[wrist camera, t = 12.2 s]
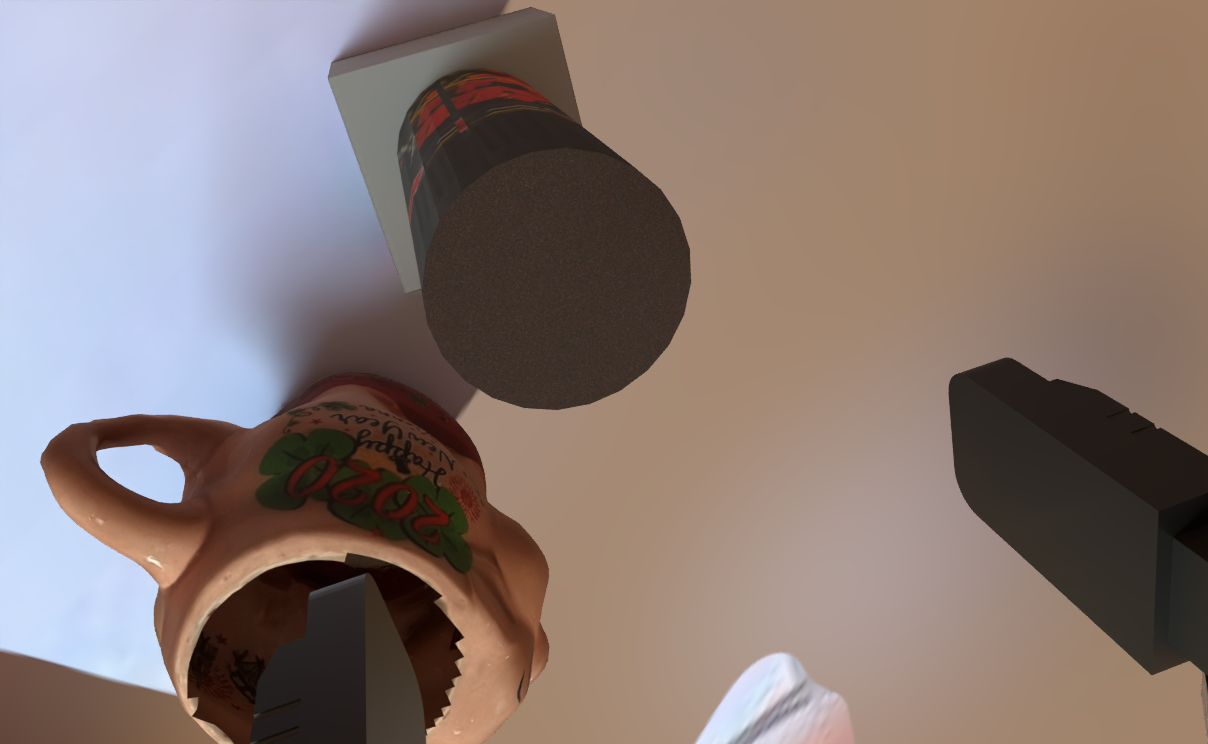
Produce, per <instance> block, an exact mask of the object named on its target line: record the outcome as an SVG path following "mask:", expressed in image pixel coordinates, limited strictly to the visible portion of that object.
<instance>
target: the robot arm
mask: <svg viewBox="0 0 1208 744" xmlns="http://www.w3.org/2000/svg"><path fill="white" fill-rule="evenodd" d="M949 404H950V417H951V430H952V443H953V455H954V468H955V474H956V479H957V482H958V485H959V488H960V490H961V493H962V495H963V497H964V499H965V500H966V502H967V503H968V505H969V507H970V508H971V509H972V510H973V512H974V513H975V514H976V515H977V516H978V517H979V518H981V519H982V520H983V521H984V522H985V523H986V524H987V525H988V526H989V527H990V528H991V529H992V530H994V531H995V532H996V533H997V534H998V535H999V536H1000V537H1001V538H1002V539H1003V540H1004V541H1006V542H1007V543H1008V544H1009V545H1010V546H1011V547H1012V548H1013V549H1014V550H1015V551H1017V552H1018V553H1019V554H1020V555H1021V556H1022V557H1023V558H1024V559H1025V560H1026V561H1027V562H1029V563H1030V564H1031V565H1032V566H1033V567H1034V568H1035V569H1036V570H1037V571H1038V572H1040V573H1041V574H1042V575H1043V576H1044V577H1045V578H1046V579H1047V580H1048V581H1049V582H1051V583H1052V584H1053V585H1054V586H1055V587H1056V588H1057V589H1058V590H1059V591H1060V592H1061V593H1062V594H1063V595H1065V596H1066V597H1067V598H1068V599H1069V600H1070V601H1071V602H1072V603H1073V604H1074V605H1076V606H1077V607H1078V608H1079V609H1080V610H1081V611H1082V612H1083V613H1084V614H1085V615H1086V616H1088V617H1089V618H1090V619H1091V620H1092V621H1093V622H1094V623H1095V624H1096V625H1097V626H1098V627H1100V628H1101V629H1102V630H1103V631H1104V632H1105V633H1106V634H1107V635H1108V636H1110V637H1111V638H1112V639H1113V640H1114V641H1115V642H1116V643H1117V644H1118V645H1119V646H1120V647H1121V648H1123V649H1124V650H1125V651H1126V652H1127V653H1128V654H1129V655H1130V656H1131V657H1132V658H1133V659H1135V660H1136V661H1137V662H1138V663H1139V664H1140V665H1141V666H1142V667H1143V668H1144V669H1145V670H1147V671H1148V672H1149V673H1150V674H1151V675H1154V674H1156V673H1159V672H1161V671H1164V670H1167V669H1169V668H1172V667H1174V666H1177V665H1180V664H1182V663H1185V662H1187V661H1191V662H1192V663H1193V664H1194V665H1196V666H1197V667H1198V668H1199V669H1200V670H1201V671H1202V681H1201V697H1202V705H1203V713H1204V720H1205V728H1206V735H1207V743H1208V456H1207V455H1206V454H1204V453H1202V452H1201V451H1199V450H1197V449H1195V448H1194V447H1192V446H1191V445H1189V444H1187V443H1186V442H1184V441H1182V440H1180V439H1179V438H1177V437H1175V436H1174V435H1172V434H1170V433H1169V432H1167V431H1165V430H1164V429H1162V428H1159V429H1156V427H1155V425H1154V423H1152V422H1150V421H1149V420H1147V419H1145V418H1144V417H1142V416H1140V415H1138V414H1137V413H1132V414H1131V413H1130V411H1129V408H1127V407H1125V406H1124V405H1122V404H1120V403H1119V402H1116V401H1115V400H1113V399H1112V398H1110V397H1108V396H1107V395H1105V394H1103V393H1101V392H1100V391H1098V390H1095V389H1091V388H1088V387H1084V386H1081V385H1077V384H1074V383H1070V382H1066V381H1063V380H1059V379H1055V380H1052V381H1048V380H1046V379H1045V378H1043V377H1041V376H1040V375H1038V374H1037V373H1035V372H1033V371H1032V370H1030V369H1029V368H1027V367H1025V366H1024V365H1022V364H1021V363H1019V362H1017V361H1016V360H1014V359H1012V358H1003V359H1000V360H997V361H994V362H991V363H988V364H985V365H982V366H979V367H976V368H973V369H970V370H967V371H964V372H962V373H958V374H956V375H954V376H953V377H952V378H951V380H950V383H949ZM253 715H254V718H255V721H253V722H252V729H251V736H250V744H426V733H425V722H424V711H423V703H422V698H421V693H420V689H419V685H418V682H417V678H416V675H415V672H414V669H413V666H412V663H411V661H410V659H409V656H408V654H407V652H406V650H405V647H404V645H403V643H402V641H401V638H400V636H399V634H398V631H397V629H396V627H395V625H394V622H393V620H392V618H391V616H390V613H389V611H388V609H387V607H386V604H385V602H384V600H383V598H382V595H381V593H380V591H379V589H378V586H377V584H376V582H375V581H374V579H373V577H372V576H371V575H370V574H369V573H366V574H363V575H360V576H357V577H354V578H351V579H348V580H345V581H342V582H339V583H337V584H334V585H331V586H328V587H325V588H322V589H319V590H316V591H313V592H311V593H310V595H309V599H308V611H307V624H306V637H303V638H300V639H297V640H294V641H291V642H288V643H286V644H283V645H280V646H278V648H277V650H276V651H275V653H274V655H273V657H272V658H271V660H270V662H269V663H268V665H267V667H266V668H265V670H264V672H263V673H262V675H261V677H260V679H259V680H258V685H257V692H256V700H255V707H254V714H253Z"/></svg>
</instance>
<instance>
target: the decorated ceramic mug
mask: <svg viewBox="0 0 1208 744" xmlns="http://www.w3.org/2000/svg"><path fill="white" fill-rule="evenodd" d="M144 444H147V445H152V446H153V447H154V449H155V450H156V451H158V452H160V453H162V454H164V455H166V456H168V457H170V458H172V459H174V460H175V461H176V462H178V463H179V464H180V466H181V468H182V470H183V472H184V475H185V486H184V491H183V497H182V501H181V502H180V503H162V502H157V501H155V500H152V499H149V498H147V497H144V496H142V495H139V494H137V493H135V492H133V491H131V490H129V489H127V488H125V487H124V486H122V485H120V484H119V483H117V482H116V481H114V480H113V479H112V478H110V477H109V476H108V475H107V474H106V473H105V472H104V471H103V470H102V469H101V468H100V467H99V464H98V461H97V456H96V451H98V450H102V449H107V448H113V447H126V446H134V445H144ZM40 463H41V466H42V468H43V470H44V473H45V476H46V479H47V482H48V484H49V486H50V489H51V491H52V493H53V495H54V497H55V499H56V501H57V502H58V504H59V506H60V507H61V508H62V509H63V511H64V512H65V513H66V514H67V515H68V516H69V517H70V518H71V519H72V520H73V521H74V522H75V523H76V524H77V525H79V526H80V527H81V528H83V529H84V530H85V531H87V532H88V533H89V534H91V535H92V536H94V537H95V538H96V539H98V540H99V541H101V542H102V543H103V544H105V545H107V546H109V547H110V548H112V549H114V550H116V551H117V552H119V553H121V554H123V555H124V556H126V557H128V558H130V559H131V560H133V561H135V562H136V563H138V564H139V565H140V566H142V567H143V568H144V569H145V570H146V571H147V572H148V573H149V574H150V575H151V576H152V577H153V579H154V580H155V581H156V582H157V583H158V584H159V589H158V594H157V597H156V600H155V605H154V627H155V632H156V635H157V639H158V642H159V645H160V647H161V652H162V656H163V660H164V664H165V666H166V669H167V671H168V674H169V676H170V679H171V681H172V683H173V686H174V688H175V690H176V693H177V695H178V697H179V700H180V702H181V704H182V706H183V708H184V710H185V711H186V712H187V713H188V714H189V715H190V716H191V717H192V718H193V719H194V720H195V721H196V722H197V723H198V724H199V725H200V726H201V727H202V728H203V729H204V730H205V731H206V732H207V733H208V734H209V735H210V736H211V737H212V738H213V739H214V740H216V741H217V742H218V743H219V744H250V736H251V729H252V722H253V721H255V718H254V715H253V714H254V707H255V700H256V692H257V685H258V680H259V679H260V677H261V675H262V673H263V672H264V670H265V668H266V667H267V665H268V663H269V662H270V660H271V658H272V657H273V655H274V653H275V651H276V650H277V648H278V646H280V645H283V644H286V643H288V642H291V641H294V640H297V639H300V638H303V637H306V624H307V611H308V599H309V595H310V593H311V592H313V591H316V590H319V589H322V588H325V587H328V586H331V585H334V584H337V583H339V582H342V581H345V580H348V579H351V578H354V577H357V576H360V575H363V574H366V573H369V574H370V575H371V576H372V577H373V579H374V581H375V582H376V584H377V586H378V589H379V591H380V593H381V595H382V598H383V600H384V602H385V604H386V607H387V609H388V611H389V613H390V616H391V618H392V620H393V622H394V625H395V627H396V629H397V631H398V634H399V636H400V638H401V641H402V643H403V645H404V647H405V650H406V652H407V654H408V656H409V659H410V661H411V663H412V666H413V669H414V672H415V675H416V678H417V682H418V685H419V689H420V693H421V698H422V703H423V711H424V722H425V733H426V744H482V743H483V742H485V741H486V740H487V739H489V738H490V737H491V736H492V735H493V734H494V733H495V732H496V731H497V730H498V729H499V728H500V727H501V726H502V724H503V723H504V722H505V721H506V720H507V719H508V717H509V716H510V715H511V714H512V713H513V712H514V711H516V709H517V708H518V707H519V706H520V704H521V703H522V701H523V700H524V698H525V696H526V694H527V690H528V687H529V685H530V684H531V683H532V682H533V681H534V680H535V679H536V678H537V677H538V676H539V675H540V673H541V672H542V671H543V669H544V668H545V666H546V663H547V661H548V653H549V643H548V639H547V636H546V634H545V632H544V630H543V628H542V626H541V623H540V617H541V611H542V606H543V601H544V597H545V592H546V588H547V584H548V578H549V568H548V565H547V562H546V559H545V556H544V555H543V553H542V551H541V550H540V548H539V547H538V545H537V544H536V542H535V541H534V540H533V539H532V537H531V536H530V535H529V534H528V533H527V532H526V530H525V529H524V528H523V527H522V526H521V525H520V524H519V523H517V522H516V521H514V520H513V519H511V518H509V517H508V516H506V515H504V514H503V513H501V512H500V511H498V510H497V509H496V508H494V507H493V506H492V505H491V504H490V503H489V502H488V501H487V497H486V481H485V473H484V469H483V465H482V462H481V458H480V456H479V453H478V451H477V449H476V447H475V445H474V444H473V442H472V440H471V439H470V437H469V436H468V434H467V433H466V432H465V431H464V429H463V428H462V427H461V426H460V425H459V424H458V422H457V421H456V420H455V419H453V418H452V417H451V416H450V415H449V414H448V413H447V412H446V411H444V410H443V409H442V408H441V407H440V406H438V405H437V404H436V403H434V402H433V401H432V400H430V399H429V398H427V397H425V396H424V395H422V394H421V393H419V392H417V391H415V390H413V389H411V388H409V387H407V386H405V385H402V384H400V383H398V382H395V381H392V380H390V379H387V378H384V377H380V376H376V375H371V374H364V373H344V374H338V375H334V376H331V377H328V378H326V379H323V380H321V381H319V382H318V383H316V384H314V385H313V386H311V387H310V388H308V389H307V390H306V391H305V392H304V393H303V394H302V395H301V396H299V397H298V398H297V399H296V400H295V401H294V402H293V403H291V404H290V405H288V406H287V407H285V408H284V409H282V410H281V411H280V412H278V413H277V414H276V415H275V416H273V417H272V418H271V419H270V420H268V421H266V422H263V423H262V424H260V425H258V426H256V427H255V428H253V429H247V428H242V427H240V426H237V425H234V424H231V423H228V422H224V421H218V420H209V419H200V418H193V417H185V416H177V415H144V414H137V415H129V416H124V417H118V418H110V419H100V420H93V421H91V422H89V423H77V424H72V425H70V426H69V427H68V428H66V429H65V430H64V431H62V432H61V433H59V434H58V435H57V436H55V437H54V438H53V439H52V440H51V441H50V442H49V444H48V446H47V448H46V449H45V451H44V452H43V453H42V456H41V461H40Z"/></svg>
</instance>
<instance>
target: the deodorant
mask: <svg viewBox="0 0 1208 744" xmlns="http://www.w3.org/2000/svg"><path fill="white" fill-rule="evenodd" d="M397 157H398V163H399V168H400V174H401V180H402V185H403V191H404V196H405V202H406V207H407V213H408V218H409V223H410V229H411V234H412V240H413V245H414V251H415V256H416V262H417V267H418V273H419V278H420V284H421V289H422V295H423V300H424V306H425V311H426V317H427V322H428V326H429V328H430V330H431V332H432V334H433V336H434V338H435V340H436V342H437V345H438V347H439V349H440V351H441V353H442V355H443V356H444V357H445V358H446V360H447V361H448V362H449V363H450V364H451V365H452V366H453V367H454V368H455V370H456V371H457V372H458V373H459V374H460V375H461V376H462V377H463V379H464V380H466V381H467V382H469V383H470V384H472V385H473V386H475V387H476V388H478V389H480V390H481V391H483V392H484V393H486V394H487V395H489V396H491V397H492V398H495V399H498V400H501V401H504V402H507V403H510V404H514V405H517V406H520V407H523V408H535V409H552V410H559V409H565V408H570V407H575V406H581V405H586V404H591V403H593V402H595V401H598V400H600V399H602V398H604V397H607V396H609V395H611V394H614V393H616V392H618V391H620V390H622V389H623V388H624V387H626V386H627V385H628V384H630V383H631V382H632V381H634V380H635V379H637V378H638V377H639V376H640V375H642V374H643V373H645V372H646V371H647V370H648V369H649V368H650V367H651V366H652V364H653V363H654V362H655V361H656V360H657V359H658V357H659V356H660V355H661V354H662V353H663V351H664V350H665V349H666V348H667V347H668V345H669V344H670V342H671V340H672V338H673V336H674V334H675V332H676V330H677V328H678V326H679V324H680V322H681V320H682V318H683V316H684V312H685V308H686V302H687V298H688V294H689V289H690V284H691V272H690V270H691V269H690V249H689V245H688V242H687V239H686V236H685V233H684V230H683V227H682V224H681V220H680V218H679V216H678V215H677V213H676V212H675V210H674V208H673V207H672V205H671V204H670V202H669V201H668V200H667V198H666V197H665V195H664V194H663V192H662V191H661V189H659V188H658V187H657V186H656V185H655V184H654V183H652V182H651V181H650V180H649V179H648V178H647V177H645V176H644V175H643V174H642V173H641V172H639V171H638V170H637V169H636V168H635V167H633V166H632V165H631V164H629V163H628V162H627V161H626V160H624V159H623V158H622V157H621V156H619V155H618V154H617V153H615V152H614V151H613V150H612V149H610V148H609V147H608V146H606V145H605V144H604V143H602V142H601V141H600V140H599V139H597V138H596V137H595V136H594V135H592V134H591V133H590V132H588V131H587V130H586V129H585V128H583V127H582V126H581V125H580V124H578V123H577V122H576V121H574V120H573V119H572V118H571V117H569V116H568V115H567V114H565V113H564V112H563V111H562V110H560V109H559V108H558V107H556V106H555V105H554V104H553V103H551V102H550V101H549V100H547V99H546V98H545V97H544V96H542V95H541V94H540V93H539V92H537V91H536V90H535V89H533V88H532V87H531V86H530V85H528V84H527V83H526V82H524V81H523V80H521V79H518V78H516V77H514V76H512V75H510V74H507V73H505V72H502V71H496V70H490V69H483V68H479V69H470V70H462V71H457V72H455V73H452V74H450V75H448V76H445V77H443V78H440V79H438V80H437V81H435V82H434V83H433V84H432V85H430V86H429V87H428V88H426V89H425V90H424V91H423V92H421V93H420V94H419V96H418V97H417V99H416V100H415V101H414V103H413V104H412V105H411V107H410V108H409V109H408V111H407V113H406V116H405V118H404V121H403V123H402V126H401V129H400V131H399V139H398V150H397Z"/></svg>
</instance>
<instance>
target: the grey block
mask: <svg viewBox="0 0 1208 744" xmlns="http://www.w3.org/2000/svg"><path fill="white" fill-rule="evenodd" d="M479 68H483V69H490V70H496V71H502V72H505V73H507V74H510V75H512V76H514V77H516V78H518V79H521V80H523V81H524V82H526V83H527V84H528V85H530V86H531V87H532V88H533V89H535V90H536V91H537V92H539V93H540V94H541V95H542V96H544V97H545V98H546V99H547V100H549V101H550V102H551V103H553V104H554V105H555V106H556V107H558V108H559V109H560V110H562V111H563V112H564V113H565V114H567V115H568V116H569V117H571V118H572V119H573V120H574V121H576V122H577V123H578V124H580V125H581V126H582V124H581V120H580V116H579V111H578V107H577V103H576V99H575V95H574V91H573V87H572V83H571V79H570V75H569V71H568V67H567V63H566V59H565V55H564V51H563V46H562V43H561V38H560V34H559V30H558V26H557V22H556V18H555V15H554V14H551V13H548V12H544V11H542V10H538V9H535V8H532V7H530V8H526V9H523V10H519V11H515V12H512V13H508V14H504V15H501V16H497V17H494V18H490V19H487V20H483V21H479V22H476V23H472V24H469V25H465V26H461V27H458V28H454V29H451V30H447V31H444V32H440V33H436V34H433V35H429V36H426V37H422V38H418V39H415V40H411V41H408V42H404V43H401V44H397V45H393V46H390V47H386V48H383V49H379V50H375V51H372V52H368V53H365V54H361V55H358V56H354V57H350V58H347V59H343V60H340V61H336V62H332V63H331V67H330V71H329V75H328V80H329V83H330V86H331V89H332V91H333V94H334V97H335V100H336V103H337V105H338V108H339V111H340V114H341V116H342V119H343V122H344V125H345V128H346V130H347V133H348V136H349V139H350V141H351V144H352V147H353V150H354V153H355V155H356V158H357V161H358V164H359V166H360V169H361V172H362V175H363V178H364V180H365V183H366V186H367V189H368V191H369V194H370V197H371V200H372V203H373V205H374V208H375V211H376V214H377V217H378V219H379V222H380V225H381V228H382V230H383V233H384V236H385V239H386V242H387V244H388V247H389V250H390V253H391V255H392V258H393V261H394V264H395V267H396V269H397V272H398V275H399V278H400V280H401V283H402V286H403V289H404V292H405V294H406V293H409V292H412V291H416V290H419V289H421V284H420V278H419V273H418V267H417V262H416V256H415V251H414V245H413V240H412V234H411V229H410V223H409V218H408V213H407V207H406V202H405V196H404V191H403V185H402V180H401V174H400V168H399V163H398V157H397V150H398V139H399V131H400V129H401V126H402V123H403V121H404V118H405V116H406V113H407V111H408V109H409V108H410V107H411V105H412V104H413V103H414V101H415V100H416V99H417V97H418V96H419V94H420V93H421V92H423V91H424V90H425V89H426V88H428V87H429V86H430V85H432V84H433V83H434V82H435V81H437V80H438V79H440V78H443V77H445V76H448V75H450V74H452V73H455V72H457V71H462V70H470V69H479Z"/></svg>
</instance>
